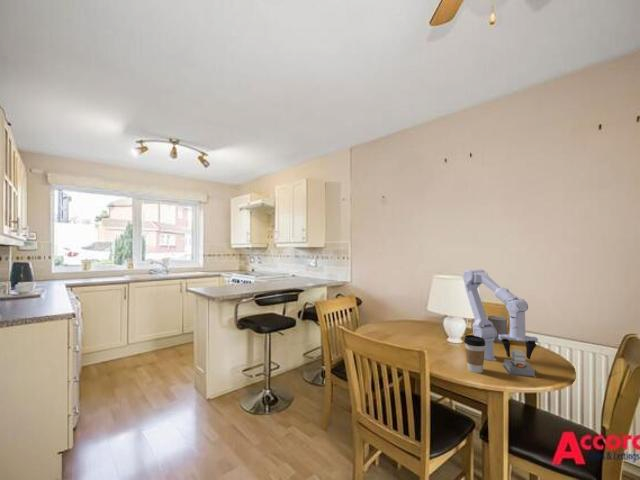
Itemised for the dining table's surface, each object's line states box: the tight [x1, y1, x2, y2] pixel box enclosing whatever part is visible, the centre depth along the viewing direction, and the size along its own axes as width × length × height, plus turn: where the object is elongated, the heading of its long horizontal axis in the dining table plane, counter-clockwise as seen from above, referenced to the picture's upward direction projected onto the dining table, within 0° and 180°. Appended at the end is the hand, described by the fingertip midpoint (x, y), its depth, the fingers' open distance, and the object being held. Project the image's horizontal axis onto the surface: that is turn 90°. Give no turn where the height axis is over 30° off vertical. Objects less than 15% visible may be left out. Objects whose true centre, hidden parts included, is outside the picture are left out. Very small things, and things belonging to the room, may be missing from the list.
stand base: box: [502, 358, 538, 378], centre depth 127 cm, size 10×10×4 cm
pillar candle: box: [487, 315, 508, 344], centre depth 168 cm, size 10×10×15 cm
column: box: [510, 348, 527, 367], centre depth 127 cm, size 4×4×7 cm
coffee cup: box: [463, 334, 485, 374], centre depth 129 cm, size 8×8×15 cm
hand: (518, 357), depth 127 cm, fingers open, 7 cm apart
